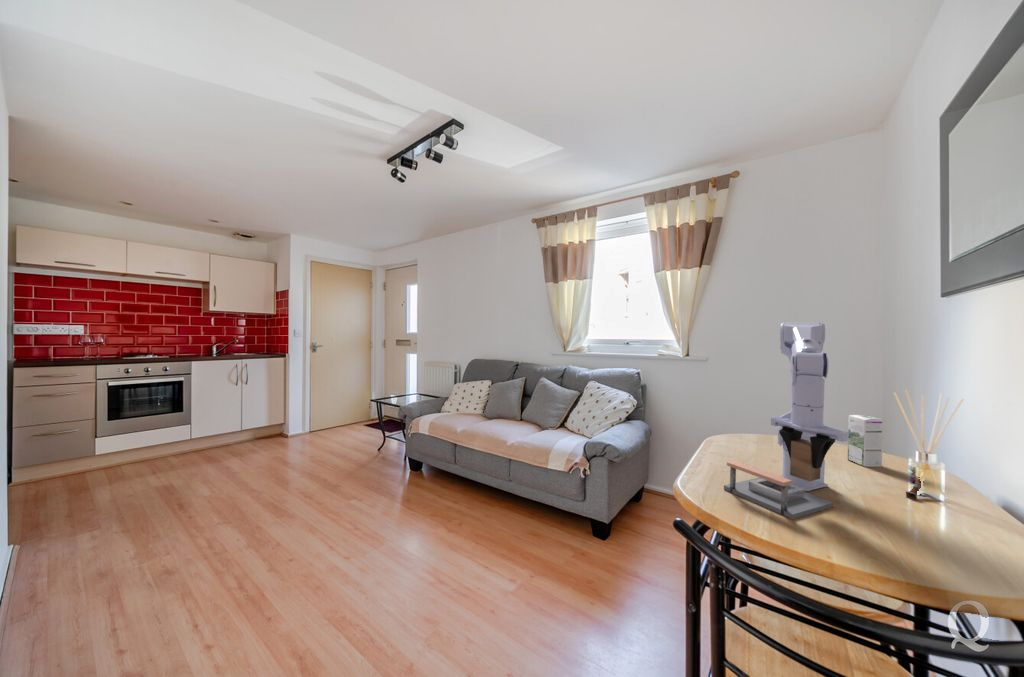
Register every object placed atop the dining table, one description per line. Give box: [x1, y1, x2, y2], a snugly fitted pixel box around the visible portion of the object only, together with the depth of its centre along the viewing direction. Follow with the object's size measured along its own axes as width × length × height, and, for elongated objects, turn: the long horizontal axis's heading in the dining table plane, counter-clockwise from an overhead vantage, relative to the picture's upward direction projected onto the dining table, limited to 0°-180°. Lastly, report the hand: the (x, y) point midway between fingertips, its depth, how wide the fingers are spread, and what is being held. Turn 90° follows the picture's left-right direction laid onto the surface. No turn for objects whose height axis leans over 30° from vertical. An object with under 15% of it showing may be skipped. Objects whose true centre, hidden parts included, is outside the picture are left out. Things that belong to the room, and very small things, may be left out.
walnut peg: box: [790, 439, 820, 481], centre depth 85 cm, size 4×4×8 cm
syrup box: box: [847, 414, 884, 468], centre depth 114 cm, size 6×6×14 cm
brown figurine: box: [905, 476, 921, 501], centre depth 92 cm, size 2×8×4 cm, turn 118°
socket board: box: [723, 460, 834, 520], centre depth 90 cm, size 16×16×8 cm
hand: (805, 464), depth 85 cm, fingers closed on walnut peg, 4 cm apart
